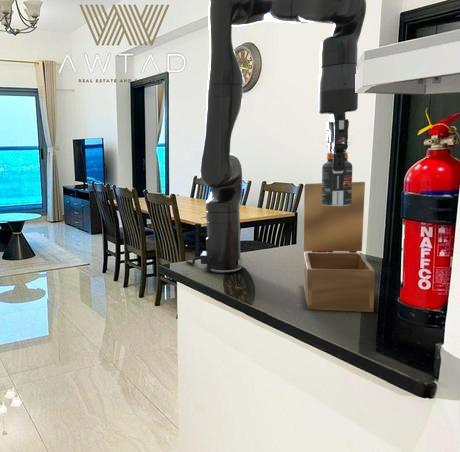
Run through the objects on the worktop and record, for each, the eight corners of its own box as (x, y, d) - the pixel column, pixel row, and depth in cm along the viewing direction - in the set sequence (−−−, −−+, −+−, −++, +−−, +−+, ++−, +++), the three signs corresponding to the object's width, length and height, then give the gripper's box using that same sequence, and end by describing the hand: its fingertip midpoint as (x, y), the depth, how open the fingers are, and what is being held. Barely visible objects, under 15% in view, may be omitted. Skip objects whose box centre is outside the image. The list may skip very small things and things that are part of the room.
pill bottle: (348, 207, 96) (349, 152, 94) (318, 206, 99) (318, 153, 97) (354, 203, 100) (355, 150, 98) (325, 202, 104) (326, 152, 102)
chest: (373, 312, 94) (374, 270, 92) (307, 309, 98) (307, 269, 96) (360, 288, 108) (361, 252, 107) (303, 287, 112) (303, 252, 111)
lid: (365, 182, 102) (360, 176, 107) (304, 184, 106) (303, 179, 111) (361, 251, 107) (357, 242, 112) (303, 250, 111) (302, 242, 116)
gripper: (364, 83, 88) (361, 171, 91) (352, 90, 101) (351, 167, 104) (321, 87, 90) (320, 173, 93) (315, 93, 103) (315, 168, 106)
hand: (336, 169), depth 98 cm, fingers closed on pill bottle, 6 cm apart
